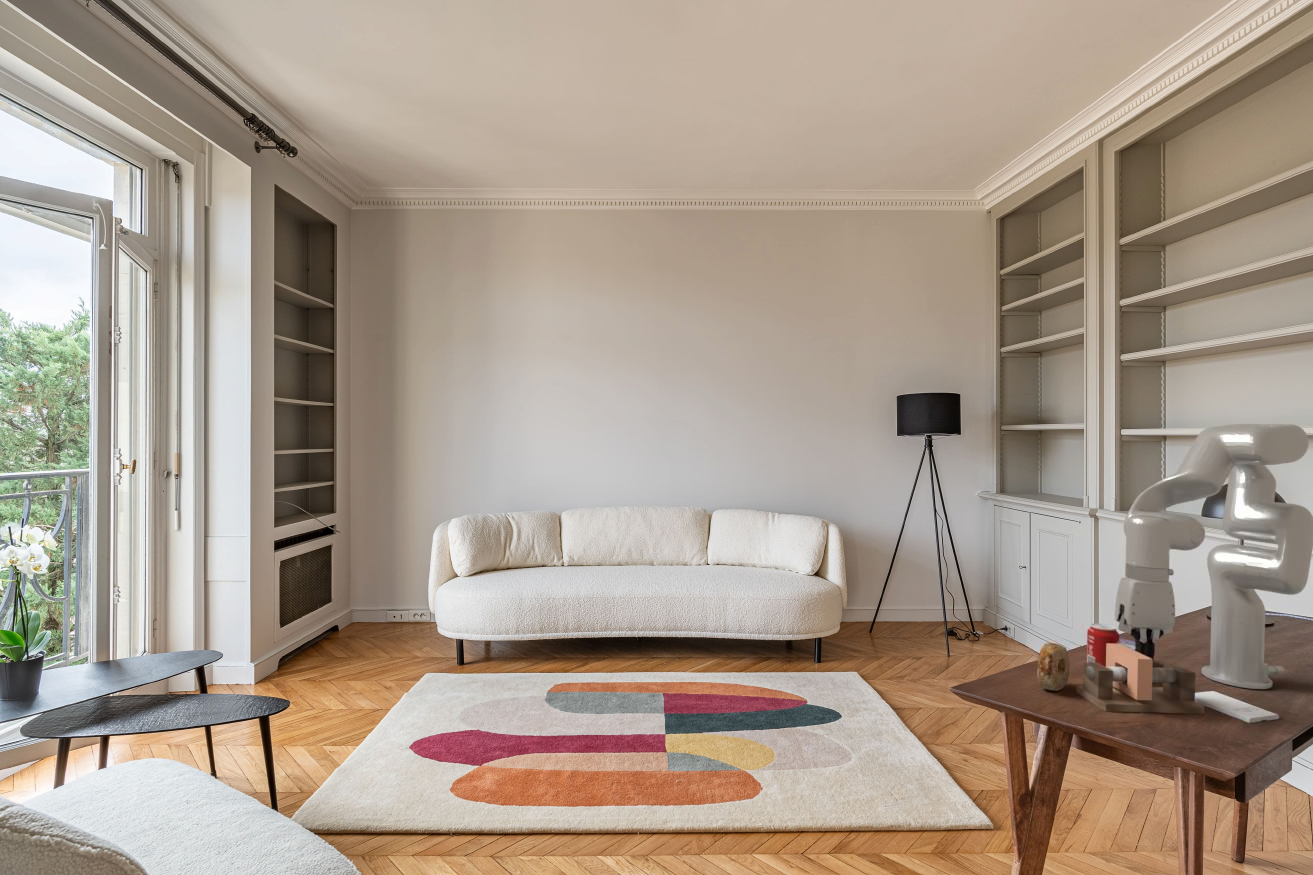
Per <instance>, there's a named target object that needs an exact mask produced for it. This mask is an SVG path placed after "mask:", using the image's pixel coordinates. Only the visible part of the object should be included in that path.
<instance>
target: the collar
mask: <svg viewBox="0 0 1313 875" xmlns="http://www.w3.org/2000/svg"><path fill="white" fill-rule="evenodd" d="M1153 665H1154V664H1153V659H1151V658H1149V657H1147V656H1145V655H1143V654H1141V653H1139V652H1137V651H1134V650H1132V649H1130V648H1128V647H1126V646H1124V645H1122V644H1109V643H1106V667H1119V666H1124V667H1126V668H1128V676H1127V683H1125V682H1114V681H1113V686H1114V687H1115V688H1117V689H1119V690H1121V691H1122V692H1124V693H1126V694H1128V695H1129V696H1131V697H1133V698H1134V699H1136V700H1152V687H1153V682H1152V668H1154V667H1153Z"/></svg>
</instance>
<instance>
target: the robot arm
mask: <svg viewBox="0 0 1313 875" xmlns="http://www.w3.org/2000/svg"><path fill="white" fill-rule="evenodd" d="M1308 437H1309V436H1308V434H1307V432H1306V431H1305V430H1304V429H1303V428H1302V427H1300V426H1299V425H1296V424H1291V423H1290V424H1289V423H1288V424H1285V423H1284V424H1283V423H1281V424H1280V423H1279V424H1278V423H1272V424H1271V423H1267V424H1266V423H1265V424H1263V423H1236V424H1226V425H1225V424H1224V425H1222V426H1220V425H1219V426H1211V427H1207V428H1206V429H1203V430H1202V431H1201V432H1200V433H1199V434H1198V435H1197V437H1195V440H1194V441H1193V443H1192V444H1191V447H1190V448H1189V450H1188V452H1187V454H1186V455H1185V456H1184V459H1183V460H1182V462H1181V464H1180V466H1179V467H1178V469H1177V471H1176V472H1175V473H1173V474H1172V475H1169V476H1167V477H1165V478H1163V479H1161V480H1159V481H1157V482H1156V483H1154V484H1152V485H1151V486H1149V487H1148V488H1146V489H1145V490H1143V491H1142V492H1141V493H1139V494H1138V496H1137V497H1136V498H1135V499H1134V502H1133V503H1132V505H1131V506H1130V508H1129V510H1128V511H1127V514H1126V515H1125V518H1124V522H1123V532H1124V535H1125V539H1126V540H1125V565H1124V566H1125V569H1124V570H1125V575H1124V577H1120V581H1119V584H1118V588H1117V592H1116V599H1115V605H1114V606H1115V607H1114V609H1115V610H1114V620H1115V621H1116V622H1118V626H1117V629H1118V630H1119V631H1120V632H1123V633H1127V634H1129V635H1130V636H1131V637H1132V640H1133V639H1134V640H1135V641H1134V642H1135V651H1137V652H1139V653H1141V654H1143V655H1145V656H1147V657H1149V658H1151V659H1153V662H1154V660H1155V650H1156V648H1155V646H1156V644H1157V643H1159V639H1160V638H1161V637H1162V636H1164V635H1168V634H1172V633H1173V631H1174V630H1173V627H1175V623H1176V601H1175V600H1176V599H1175V593H1174V590H1173V589H1174V588H1173V584H1172V582H1171V581H1170V576H1174V574H1175V572H1174V570H1173V569H1172V568H1170V554H1171V553H1170V551H1171V550H1176V551H1186V552H1187V551H1191V550H1195V549H1197V548H1199V547H1200V546H1201V545H1202V544H1203V542H1204V540H1205V537H1206V529H1205V527H1204V525H1203V524H1202V522H1200V520H1198V519H1196V518H1195V517H1192V516H1188V515H1184V514H1183V515H1182V514H1176V513H1175V514H1174V513H1167V512H1166V513H1165V512H1163V511H1164V510H1166V509H1167V508H1171V507H1173V506H1176V505H1180V504H1184V503H1188V502H1194V501H1197V500H1202V499H1207V498H1208V497H1212V496H1215V495H1216V494H1218V493H1219V492H1220V491H1221V490H1222V488H1223V485H1224V484H1225V482H1226V481H1227V480H1228V482H1227V483H1228V484H1227V490H1226V498H1225V502H1224V503H1225V504H1224V510H1223V513H1222V514H1223V516H1222V530H1223V532H1224V533H1225V534H1226V535H1227V536H1229V537H1231V538H1234V539H1237V540H1238V539H1239V540H1243V541H1251V542H1258V543H1265V544H1273V545H1277V549H1278V550H1277V549H1270V548H1265V547H1264V548H1262V547H1258V546H1252V545H1251V546H1250V545H1243V544H1233V543H1232V544H1231V543H1230V544H1229V543H1224V544H1219V545H1216V546H1215V547H1214V546H1213V548H1211V550H1209V552H1208V555H1207V558H1206V560H1207V561H1206V562H1207V563H1206V565H1207V571H1208V575H1209V579H1210V580H1209V582H1210V588H1211V609H1210V610H1211V611H1210V612H1211V614H1210V615H1211V616H1210V618H1211V619H1210V621H1211V622H1210V650H1209V651H1210V652H1209V653H1210V654H1209V655H1210V657H1209V658H1210V659H1209V660H1210V661H1209V665H1205V666H1203V667H1201V674H1202V675H1203V676H1204V677H1206V678H1208V679H1209V680H1212V681H1215V682H1218V683H1220V684H1224V685H1229V686H1232V687H1238V688H1242V689H1243V688H1244V689H1250V690H1251V689H1252V690H1267V689H1271V688H1272V687H1273V680H1272V679H1271V678H1269V676H1271V675H1277V676H1278V675H1285V673H1286V670H1285V668H1284V667H1283V666H1281V665H1269V664H1268V663H1267V662H1266V663H1265V636H1266V634H1265V633H1266V632H1265V630H1266V628H1265V627H1266V608H1265V605H1264V602H1263V601H1262V599H1261V598H1260V595H1259V594H1258V593H1257V592H1256V590H1259V591H1264V592H1269V593H1275V594H1280V595H1286V596H1287V595H1289V596H1292V595H1293V596H1294V595H1298V594H1300V593H1301V592H1302V591H1303V590H1304V589H1305V588H1306V585H1307V582H1308V578H1309V575H1310V574H1309V573H1310V567H1311V560H1312V555H1313V514H1312V513H1311V511H1310V510H1309V509H1308V508H1306V507H1305V506H1302V505H1301V504H1295V503H1289V502H1288V503H1287V502H1278V501H1277V502H1275V498H1276V489H1277V480H1276V478H1275V476H1274V475H1273V473H1272V472H1271V470H1270V469H1269V468H1268V467H1267V466H1273V465H1274V466H1275V465H1283V464H1290V463H1295V462H1297V461H1299V460H1300V459H1302V458H1303V457H1304V456H1305V455H1306V453H1307V452H1308V450H1309V445H1310V444H1309V438H1308Z"/></svg>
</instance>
